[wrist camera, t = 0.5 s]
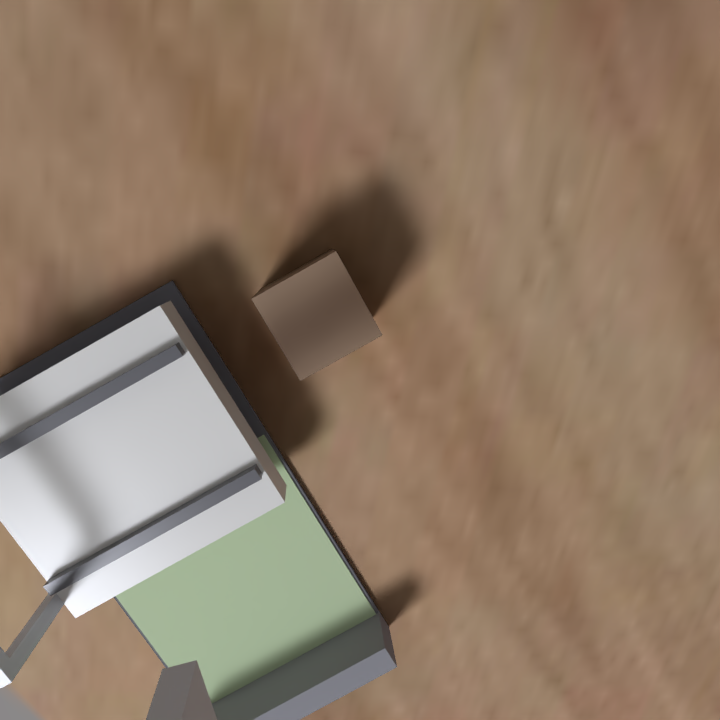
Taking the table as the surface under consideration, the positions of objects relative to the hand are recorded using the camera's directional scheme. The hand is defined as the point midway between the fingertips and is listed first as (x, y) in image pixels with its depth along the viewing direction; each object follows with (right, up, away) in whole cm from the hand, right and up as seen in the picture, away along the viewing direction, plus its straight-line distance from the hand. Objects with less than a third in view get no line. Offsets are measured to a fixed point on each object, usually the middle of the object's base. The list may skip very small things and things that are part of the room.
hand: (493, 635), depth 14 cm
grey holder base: (-14, -4, +26) cm, 29 cm away
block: (-6, +10, +24) cm, 26 cm away
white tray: (-17, +1, +24) cm, 30 cm away
